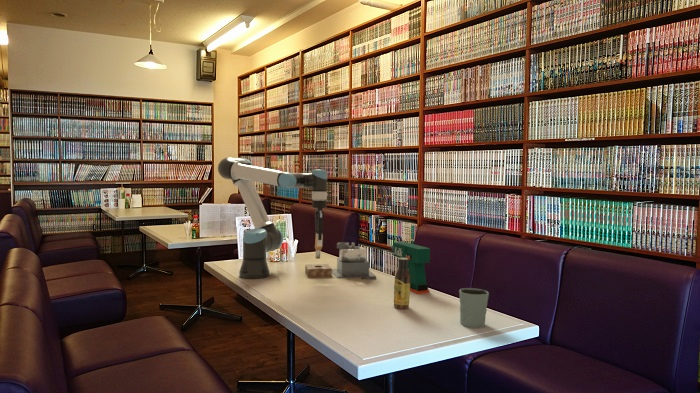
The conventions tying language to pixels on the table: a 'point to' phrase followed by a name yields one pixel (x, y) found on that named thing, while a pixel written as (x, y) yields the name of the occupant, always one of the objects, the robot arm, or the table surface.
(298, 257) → the table surface
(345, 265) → the stand
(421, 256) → the power tool
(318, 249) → the orange rounded rod
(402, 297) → the sauce bottle
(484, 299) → the grey cup
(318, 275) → the wooden hole block
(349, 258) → the chuck
